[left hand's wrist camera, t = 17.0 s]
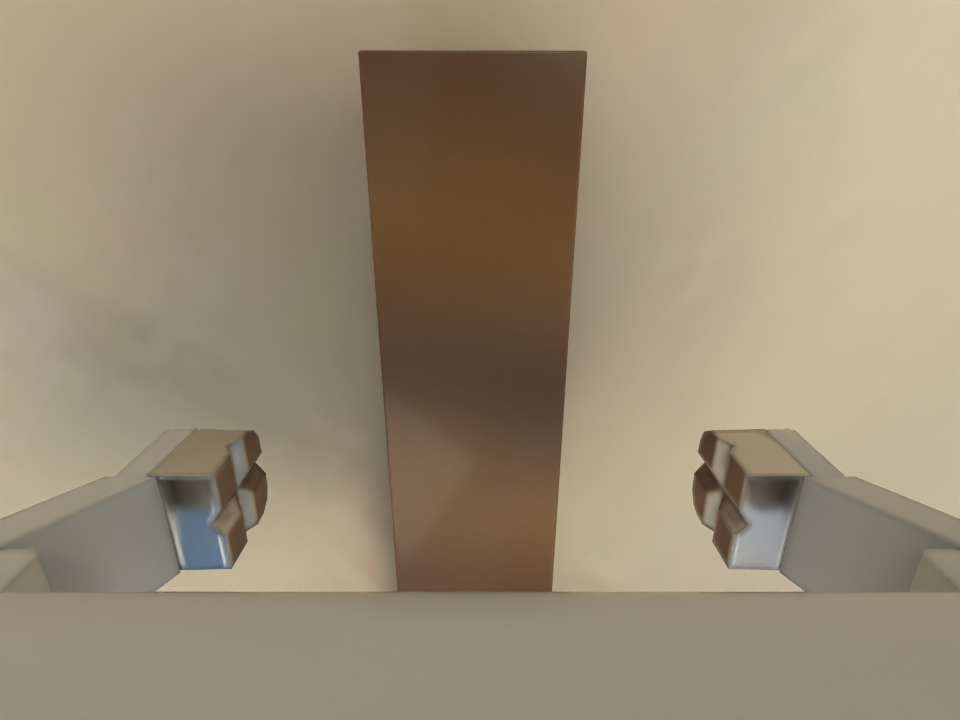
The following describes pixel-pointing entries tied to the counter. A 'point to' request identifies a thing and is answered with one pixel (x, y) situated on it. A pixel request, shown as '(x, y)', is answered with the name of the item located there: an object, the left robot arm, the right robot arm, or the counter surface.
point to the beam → (473, 303)
